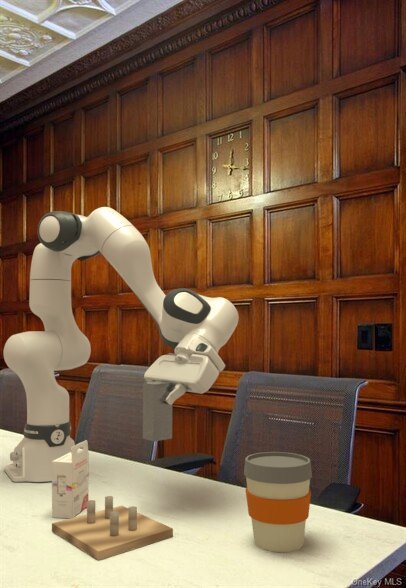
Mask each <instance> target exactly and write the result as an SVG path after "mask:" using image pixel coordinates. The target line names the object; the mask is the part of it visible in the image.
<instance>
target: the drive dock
mask: <svg viewBox="0 0 406 588" xmlns="http://www.w3.org/2000/svg"><path fill="white" fill-rule="evenodd" d="M51 532H52V533H54V534H56V535H57V536H59V537H60V538H61V539H64V540H66V542H68V543H70V544H72V545H73V546H74V547H76V548H78V549H79V550H82V551H83V552H84V553H86V554H87V555H89V556H91V557H92V558H94V559H95V560H97V561H101V560H104V559H107V558H111V557H113V556H116V555H119V554H123V553H125V552H129V551H132V550H135V549H138V548H141V547H145V546H147V545H151V544H154V543H157V542H160V541H163V540H167V539H169V538H173V536H174V528H173V527H170V526H169V525H166V524H164V523H161V522H160V521H157V520H155V519H153V518H150V517H148V516H146V515H144V514H142V513H140V512H138V507H137V506H134V505H133V506H132V505H131V506H129V507H126V506H124V505H118V506H114V496H112V495H107V496H105V497H104V509H103V510H99V511H96V500H94V499H90V500H89V499H88V501H87V507H86V514H83V515H82V514H81V515H79V516H75V517H74V518H65V519H64V520H63V519H62V520H60V521H54V522H52V523H51Z"/></svg>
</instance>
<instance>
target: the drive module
mask: <svg viewBox="0 0 406 588" xmlns="http://www.w3.org/2000/svg"><path fill="white" fill-rule="evenodd" d="M173 390H174V389H173V383H171V382H163V381H159V382H147V381H146V382H143V383H142V439H144V440H146V441H150V442H158V441H159V442H160V441H165V440H171V439H173V404H172V405H168V404H166V403H165V402H164V401H163V398H164V397H165V396H166V394H169V393H171V392H172V391H173Z"/></svg>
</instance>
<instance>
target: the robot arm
mask: <svg viewBox="0 0 406 588" xmlns="http://www.w3.org/2000/svg"><path fill="white" fill-rule="evenodd" d="M39 220H40V221H39V223H38V225H37V237H38V241H39V242H40V243H38V244H37V245H36V246H35V248H34V250H33V252H32V253H33V254H32V257H31V265H30V272H29V300H28V301H29V303H28V304H29V305H28V306H29V308H30V311H31V312H32V313H33V314H34V315H35V316H37V317H38V318H40V320H41V321H42V323H43V327H44V331H43V330H42V331H40V330H39V331H38V330H36V331H32V330H31V331H30V330H29V331H25V332H24V331H23V332H19V333H16V334H15V333H14V334H12V335H11V336H9V338H8V339H7V340H6V342H5V344H4V347H3V358H4V362H5V364H6V365H7V367H8V368H9V369H10V370H11V371H12V372H14V373H15V374H16V375H17V376H18V377H19V379H20V381H21V383H22V385H23V388H24V391H25V396H26V423H25V424H24V428H23V438H22V439H21V440H20V441H19V443H18V444H17V445H16V446H15V447H14V449H13V451H12V452H10V454H9V458H10V459H9V460H10V461H11V462H12V463H11V464H7V465H5V466H4V468H3V470H4V472H5V473H6V474H7V476H8V477H9V478H10V479H11V481H12V482H15V483H19V482H21V483H22V482H31V483H32V482H33V483H44V482H45V483H46V482H52V461H54V460H56V459H58V458H60V457H62V456H64V455H66V454H68V453H71V447H73V446H75V445H76V443H75V441H74V439H73V438H71V431H72V425H71V421H70V394H69V392H68V390H67V389H66V388H65V387H64V386H61V385H60V384H59V383H58V382H57V380H56V376H55V372H56V371H57V372H58V371H67V370H73V369H76V368H79V367H82V366H84V365H85V364H87V362H88V361H89V359H90V357H91V352H92V349H91V348H92V347H91V342H90V341H89V339H88V337H87V336H86V335H85V334H84V333H83V332H82V330H80V328H79V326H78V325H77V323H76V320H75V316H74V314H73V309H72V308H73V307H72V267H73V264H74V262H75V261H76V260H78V261H79V262H84V261H86V260H88V259H91V258H94V257H97V256H98V257H99V255H102V256H103V257H104V258H105V260H106V261H107V262H108V263H109V264H110V265H111V266H112V267H113V269H114V270H115V271H116V272H117V273H118V275H119V276H120V277H121V278H122V280H124V282H125V283H126V284H127V285H128V287H129V288H130V289H131V291H132V292H133V294H134V295H135V298H137V299H138V301H139V302H140V303H141V305H142V307H144V309H145V311H146V312H147V313H148V314H149V315H150V316H151V318H152V320H154V322H155V323H156V326H157V329H158V333H159V337H160V339H161V341H162V342H163V344H165V345H166V346H167V347H169V348H170V349H174V353H173V352H169V353H167V354H164V355H163V354H162V355H160V356H159V357H158V358H157V359H156V360H155V361H154V362H153V363H152V364H151V365H150V366H149V368H147V369H146V371H145V372H144V375H143V379H145V381H146V383H147V382H159V381H163V382H171V383H173V391H172V392H171V393H169V394H166V396H165V397H164V398H163V401H164V402H165V403H166V404H168V405H172V406H173V404H174V402H175V401H176V400H177V399H179V398H181V397H183V395H185V393H186V392H189V393H195V394H204V393H207V392H208V391H209V389H211V388H212V386H213V384H214V383H215V382H216V380H217V379H218V377H219V375H220V372H223V370H224V369H225V368H226V364H225V363H224V361H223V360H222V358H221V357H220V356H219V350H220V349H221V348H222V347H223V346H225V345H226V344H227V343H228V341H229V339H230V338H231V336H232V335H233V333H234V332H235V330H236V328H237V326H238V323H239V319H240V317H239V312H238V309H237V308H236V307H235V304H233V303H232V302H231V301H230V300H229V299H227V298H224V297H222V296H217V297H209V296H205V295H202V294H199V293H197V292H196V291H193V290H191V289H190V288H189V289H188V288H184V287H181V288H176V289H173V290H171V291H169V292H167V294H165V293H164V291H163V290H162V289H161V287H160V286H159V284H158V281H156V277H155V274H154V269H153V263H152V256H151V251H150V247H149V244H148V242H147V241H146V239H145V238H144V236H143V234H142V233H141V232H140V231H139V230H138V229H137V228H136V227H135V226H134V225H133V224H132V223H131V222H130V221H129V220H128V219H127V218H126V217H124V215H122V214H120V213H119V212H118V211H117V210H115V209H113V208H112V207H108V206H102V207H98V208H96V209H94V210H93V211H92V212H91V213H90V214H89V215H88V216H84V215H81V214H77V213H72V212H69V211H65V210H64V211H63V210H55V211H54V210H52V211H50V212H49V211H48V212H47V213H46V214H44V215H43V216H42V217H41V219H39Z"/></svg>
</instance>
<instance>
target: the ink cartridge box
mask: <svg viewBox="0 0 406 588" xmlns="http://www.w3.org/2000/svg"><path fill="white" fill-rule="evenodd" d="M80 449H82V450H81V451H79V452H78V450H80ZM89 461H90V459H89V444H88V440H87V439H86V440H84V441H81V442H78V443H77V444H75V446H73V447H71V453H68V454H66V455H64V456H62V457H60V458H58V459H56V460H54V461H52V481H51V518H56V519H57V518H61V519H70V518H74V517H77V515H79V514H80V513H81V512H83V511H84V510H85V509H87V501H89V490H90V489H89V487H90V485H89V483H90V482H89V478H90V477H89V475H90V474H89V472H90V471H89V470H90V468H89V465H90V464H89V463H90V462H89Z"/></svg>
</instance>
